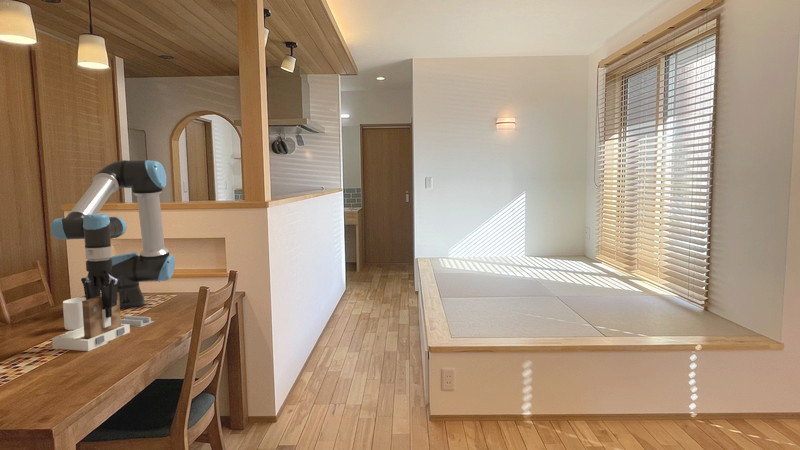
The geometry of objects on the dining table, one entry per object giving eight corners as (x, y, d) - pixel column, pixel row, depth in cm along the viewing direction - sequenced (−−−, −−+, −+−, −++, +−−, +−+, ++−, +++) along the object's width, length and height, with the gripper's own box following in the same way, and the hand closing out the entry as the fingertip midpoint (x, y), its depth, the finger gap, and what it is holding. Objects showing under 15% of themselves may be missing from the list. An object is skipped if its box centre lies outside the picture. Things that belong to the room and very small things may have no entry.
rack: (126, 320, 188) (125, 314, 187) (154, 322, 185) (154, 316, 185) (112, 326, 181) (112, 320, 181) (141, 328, 178) (141, 321, 178)
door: (115, 330, 170) (113, 292, 169) (122, 330, 170) (119, 292, 168) (84, 342, 157) (82, 301, 156) (91, 342, 157) (89, 301, 156)
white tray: (97, 331, 175) (96, 322, 174) (131, 333, 172) (130, 324, 171) (52, 348, 157) (52, 338, 157) (89, 351, 154) (89, 340, 154)
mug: (97, 329, 177) (95, 301, 176) (60, 332, 174) (58, 303, 173) (105, 323, 185) (103, 296, 184) (70, 325, 182) (68, 298, 181)
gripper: (69, 260, 159) (74, 328, 161) (109, 261, 156) (113, 331, 158) (88, 256, 166) (92, 321, 168) (126, 258, 163) (130, 324, 165)
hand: (103, 326), depth 163 cm, fingers closed on door, 2 cm apart
